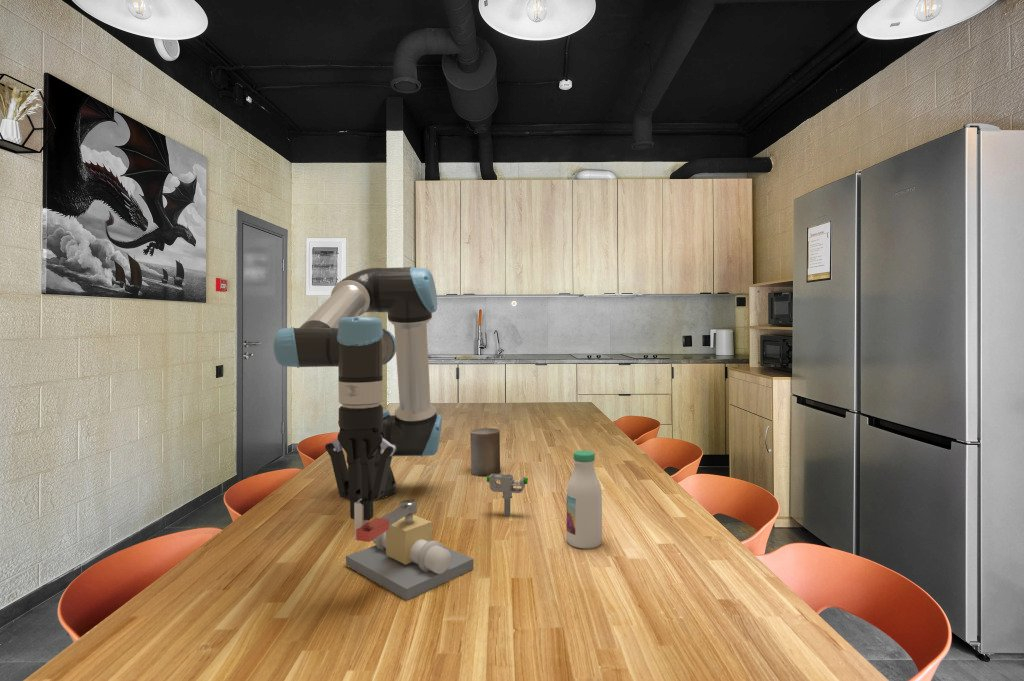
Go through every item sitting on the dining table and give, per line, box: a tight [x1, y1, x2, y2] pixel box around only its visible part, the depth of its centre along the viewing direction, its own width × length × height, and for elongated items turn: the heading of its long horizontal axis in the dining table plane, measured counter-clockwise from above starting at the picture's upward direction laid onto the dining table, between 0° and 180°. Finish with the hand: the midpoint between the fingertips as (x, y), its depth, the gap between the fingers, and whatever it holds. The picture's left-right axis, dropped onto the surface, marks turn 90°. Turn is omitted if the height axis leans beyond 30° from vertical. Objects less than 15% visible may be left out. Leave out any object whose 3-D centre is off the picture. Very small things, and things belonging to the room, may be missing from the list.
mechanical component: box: [486, 473, 529, 517], centre depth 133 cm, size 3×10×10 cm, turn 79°
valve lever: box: [355, 499, 418, 543], centre depth 98 cm, size 17×3×2 cm, turn 160°
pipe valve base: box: [345, 514, 475, 601], centre depth 105 cm, size 20×16×11 cm
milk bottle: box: [566, 449, 603, 550], centre depth 116 cm, size 8×8×20 cm
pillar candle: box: [469, 426, 501, 477], centre depth 172 cm, size 10×10×15 cm
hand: (362, 537), depth 94 cm, fingers closed
